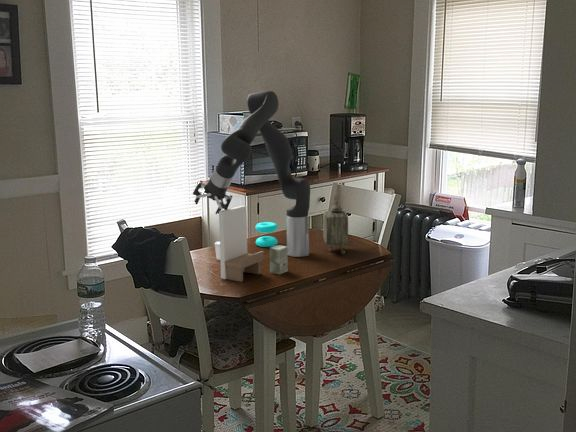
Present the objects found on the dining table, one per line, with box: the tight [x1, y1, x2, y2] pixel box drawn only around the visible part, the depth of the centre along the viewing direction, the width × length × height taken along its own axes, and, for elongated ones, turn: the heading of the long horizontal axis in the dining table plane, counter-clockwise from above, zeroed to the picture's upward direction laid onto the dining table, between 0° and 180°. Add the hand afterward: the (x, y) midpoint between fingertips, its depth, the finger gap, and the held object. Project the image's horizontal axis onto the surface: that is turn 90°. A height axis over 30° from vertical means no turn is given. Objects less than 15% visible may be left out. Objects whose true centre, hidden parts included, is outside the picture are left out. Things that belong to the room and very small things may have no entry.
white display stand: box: [218, 205, 265, 283], centre depth 240 cm, size 10×14×26 cm
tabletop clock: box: [322, 194, 349, 255], centre depth 275 cm, size 14×9×25 cm, turn 4°
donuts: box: [255, 221, 279, 248], centre depth 288 cm, size 10×10×10 cm
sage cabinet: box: [269, 244, 289, 275], centre depth 247 cm, size 6×6×10 cm
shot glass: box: [214, 240, 220, 261], centre depth 267 cm, size 7×7×7 cm
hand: (206, 207), depth 242 cm, fingers open, 8 cm apart
